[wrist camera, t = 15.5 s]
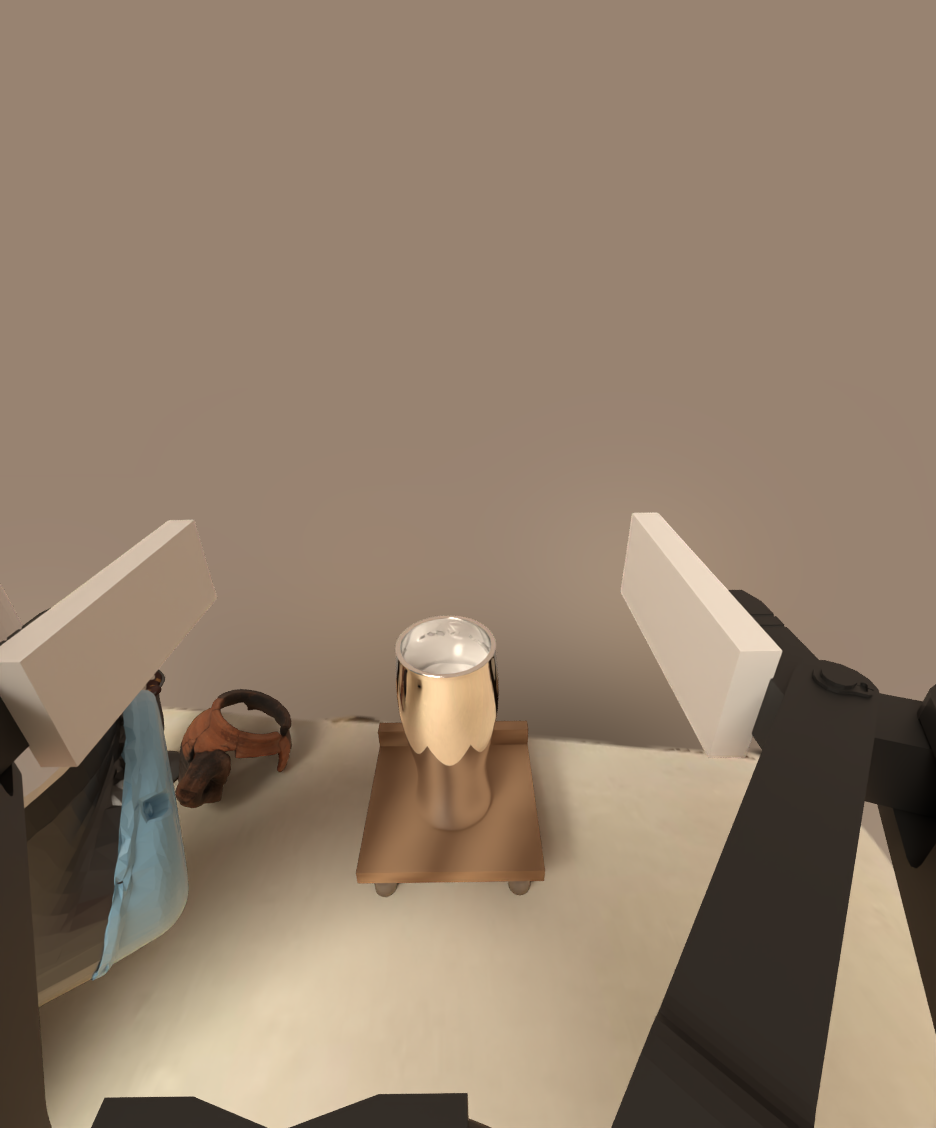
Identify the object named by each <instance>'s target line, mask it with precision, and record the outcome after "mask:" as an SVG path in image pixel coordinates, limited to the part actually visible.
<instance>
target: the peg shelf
mask: <svg viewBox="0 0 936 1128" xmlns="http://www.w3.org/2000/svg"><path fill="white" fill-rule="evenodd" d="M378 735H379V742H380V749H379V755H378V760H377V765H376V770H375V776H374V781H373V786H372V791H371V797H370V802H369V807H368V812H367V818H366V823H365V828H364V833H363V839H362V844H361V849H360V854H359V860H358V865H357V870H356V876H357V881H358V883H375V888H376V892H377V893H378V895H380V896H382V897H388V896H390V895H392V894H393V893H394V892H395V890H396V888H397V883H421V882H494V881H508V885H509V888H510V890H511V891H512V892H513V893H514V894H517V895H523V894H525V893H527V891H528V890H529V887H530V881H544V876H545V867H544V860H543V853H542V846H541V838H540V831H539V824H538V817H537V810H536V803H535V795H534V788H533V781H532V774H531V767H530V760H529V752H528V745H527V742H528V725H527V721H496V722H495V728H494V732H493V736H492V740H491V744H490V748H489V752H488V756H487V763H486V769H487V774H488V778H489V781H490V786H491V803H490V806H489V808H488V810H487V812H486V814H485V815H484V816H483V818H482V819H481V820H480V821H478V822H477V823H476V824H474V825H473V826H471V827H469V828H466V829H463V830H458V831H445V830H440V829H437V828H435V827H433V826H431V825H429V824H428V823H427V822H425V821H424V820H423V819H422V817H421V816H420V815H419V813H418V811H417V809H416V806H415V788H416V783H417V777H418V776H417V768H416V764H415V760H414V757H413V755H412V752H411V749H410V747H409V744H408V741H407V738H406V735H405V732H404V729H403V725H402V723H380V724H379V729H378Z"/></svg>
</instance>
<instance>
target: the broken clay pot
mask: <svg viewBox="0 0 936 1128" xmlns="http://www.w3.org/2000/svg"><path fill="white" fill-rule="evenodd" d="M241 702H244V703H245V704H246V705H247V707H248V710H253V709H256V710H260V711H263V712H264V713H266V714H267V715H269V716H271V717H274V718H275V720H276V722H277V723H278V724H279V725H280V726H281V728H280V734H281V735H280V734H279V733H278V732H277V731H275V732H271V733H267V734H253V733H249V732H244V731H240V730H238V729H237V728H235V727H233V726H232V725H230V724H229V723H228V722H227V721H226V720H225V719H224V718H223V716H222V714H221V711H220V709H222V708H224V707H226V706H230V705H234V704H237V703H241ZM290 727H291V718H290V714H289V712H288V711H287V709H286V708H285V707H284V706H282V704H281V703H280V702H278V700H276V699H274V698H272V697H271V696H269V695H266V694H264V693H261V692H257V691H252V690H243V689H240V690H232V691H228V692H225V693H223V694H221V695H220V696H219V697H218V698H217V699H216V700H215V701H214V702H213V704H212V708H209V709H207V710H205V711H203V712H202V713H201V714H200V715H198V716H197V717H196V718H195V719H194V720H193V721H192V723H191V724H190V726H189V727H188V729H187V731H186V733H185V735H184V737H183V740H182V743H181V749H180V757H179V777H178V782H179V784H178V785H177V788H176V798H177V800H178V801H179V802H180V804H181V805H182V806H185V807H190V808H196V807H199V806H201V805H203V804H204V803H214V802H218V801H220V800H221V795H222V790H223V785H224V784H225V783H226V780H227V777H228V776H229V774H230V771H231V766H230V765H231V760H230V757H229V755H228V754H226V753H225V752H226V751H235V757H236V758H248V757H251V758H253V757H259V756H268V755H274V754H277V753H278V755H279V762H278V767H277V770H278V771H279V772H281V771H282V770H283V769H284V768H285V766H286V765H287V761H288V758H289V753H290V749H291V747H292V744H291V737H290V732H289V728H290Z"/></svg>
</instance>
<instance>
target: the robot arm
mask: <svg viewBox="0 0 936 1128" xmlns="http://www.w3.org/2000/svg"><path fill="white" fill-rule="evenodd" d="M621 594H622V596H623V598H624V600H625V601H626V603H627V605H628V607H629V609H630V611H631V613H632V615H633V616H634V619H635V620H636V622H637V624H638V626H639V628H640V630H641V632H642V634H643V635H644V637H645V639H646V641H647V643H648V645H649V647H650V649H651V651H652V653H653V654H654V656H655V658H656V660H657V662H658V664H659V666H660V668H661V669H662V671H663V673H664V675H665V677H666V679H667V681H668V683H669V685H670V687H671V688H672V690H673V692H674V694H675V696H676V698H677V700H678V702H679V703H680V705H681V707H682V709H683V711H684V713H685V715H686V717H687V719H688V720H689V722H690V724H691V726H692V728H693V730H694V732H695V734H696V736H697V737H698V739H699V741H700V743H701V745H702V747H703V749H704V751H705V753H706V754H707V756H708V758H731V757H745V756H746V754H747V751H748V748H749V745H750V742H751V739H752V737H753V736H754V738H755V740H756V741H757V743H758V744H759V746H760V747H761V749H762V753H761V755H760V758H759V760H758V763H757V765H756V768H755V770H754V773H753V775H752V778H751V780H750V783H749V785H748V788H747V790H746V793H745V795H744V798H743V800H742V803H741V805H740V808H739V811H738V813H737V816H736V818H735V821H734V823H733V826H732V828H731V831H730V833H729V836H728V838H727V841H726V843H725V846H724V848H723V851H722V853H721V856H720V858H719V861H718V863H717V866H716V868H715V871H714V874H713V876H712V879H711V881H710V884H709V886H708V889H707V891H706V894H705V896H704V899H703V901H702V904H701V906H700V909H699V911H698V914H697V916H696V919H695V921H694V924H693V926H692V929H691V931H690V934H689V936H688V939H687V942H686V944H685V947H684V949H683V952H682V954H681V957H680V959H679V962H678V964H677V967H676V969H675V972H674V974H673V977H672V979H671V982H670V984H669V987H668V989H667V992H666V994H665V997H664V999H663V1002H662V1004H661V1007H660V1009H659V1012H658V1014H657V1016H656V1018H655V1020H654V1022H653V1025H652V1027H651V1030H650V1032H649V1035H648V1037H647V1040H646V1042H645V1045H644V1047H643V1049H642V1052H641V1054H640V1057H639V1059H638V1062H637V1065H636V1067H635V1070H634V1072H633V1075H632V1077H631V1080H630V1082H629V1085H628V1087H627V1090H626V1092H625V1095H624V1097H623V1100H622V1102H621V1105H620V1107H619V1110H618V1112H617V1115H616V1117H615V1120H614V1122H613V1125H612V1127H611V1128H814V1123H815V1113H816V1106H817V1100H818V1093H819V1087H820V1081H821V1074H822V1068H823V1062H824V1055H825V1049H826V1043H827V1036H828V1030H829V1023H830V1017H831V1011H832V1004H833V998H834V992H835V985H836V979H837V973H838V966H839V960H840V954H841V947H842V941H843V934H844V928H845V922H846V915H847V909H848V903H849V896H850V890H851V884H852V877H853V871H854V865H855V858H856V852H857V846H858V839H859V833H860V826H861V820H862V813H863V807H864V801H866V802H871V803H874V804H877V805H878V809H879V813H880V817H881V820H882V824H883V828H884V832H885V836H886V840H887V844H888V848H889V852H890V856H891V860H892V864H893V868H894V872H895V876H896V880H897V883H898V887H899V891H900V895H901V899H902V903H903V907H904V911H905V915H906V919H907V923H908V927H909V931H910V935H911V938H912V942H913V946H914V950H915V954H916V958H917V962H918V966H919V970H920V974H921V978H922V982H923V986H924V990H925V993H926V997H927V1001H928V1005H929V1009H930V1013H931V1017H932V1021H933V1025H934V1029H935V1033H936V685H934V686H933V687H932V688H930V690H929V692H928V693H927V695H926V697H925V699H924V701H923V702H922V701H917V700H912V699H906V698H901V697H896V696H891V695H885V694H881V693H879V690H878V689H877V687H876V686H875V685H874V684H873V683H872V682H871V681H870V680H869V679H868V678H866V677H865V676H863V675H862V674H860V673H859V672H857V671H855V670H853V669H850V668H848V667H846V666H844V665H841V664H837V663H834V662H829V661H826V660H818V659H817V658H816V657H815V656H814V654H812V653H811V651H810V650H809V649H808V648H807V647H806V646H805V645H804V644H803V643H802V642H801V641H800V640H799V639H798V638H797V637H796V636H795V635H794V634H793V633H792V632H791V631H790V630H789V629H788V628H787V627H784V624H783V623H782V622H781V621H780V620H779V619H778V618H777V617H776V616H775V617H774V614H773V613H772V612H771V611H770V610H769V609H768V608H767V606H766V605H765V604H764V603H762V601H760V600H758V599H757V598H755V597H753V596H752V595H750V594H748V593H746V592H745V591H743V590H727V589H726V588H725V586H723V584H722V583H721V582H720V581H719V580H718V579H717V578H716V576H715V575H714V574H713V573H712V572H711V571H710V570H709V569H708V568H707V567H706V565H705V564H704V563H703V562H702V561H701V560H700V559H699V558H698V557H697V555H696V554H695V553H694V552H693V551H692V550H691V549H690V548H689V547H688V545H687V544H686V543H685V542H684V541H683V540H682V539H681V538H680V537H679V535H678V534H677V533H676V532H675V531H674V530H673V529H672V528H671V527H670V525H669V524H668V523H667V522H666V521H665V520H664V519H663V518H662V517H661V515H660V514H659V513H632V518H631V525H630V532H629V538H628V545H627V552H626V558H625V565H624V571H623V578H622V585H621ZM216 599H217V595H216V592H215V588H214V585H213V581H212V578H211V575H210V571H209V568H208V565H207V561H206V558H205V554H204V551H203V548H202V544H201V541H200V537H199V534H198V531H197V527H196V524H195V521H194V520H168V521H167V522H166V523H164V524H163V525H162V526H160V527H159V528H158V529H156V530H155V531H154V532H152V533H151V534H150V535H148V536H147V537H146V538H144V539H143V540H142V541H140V542H139V543H138V544H136V545H135V546H134V547H132V548H131V549H130V550H128V551H127V552H126V553H124V554H123V555H122V556H120V557H119V558H118V559H116V560H115V561H114V562H112V563H111V564H110V565H108V566H107V567H106V568H104V569H103V570H102V571H100V572H99V573H97V574H96V575H95V576H93V577H92V578H91V579H89V580H88V581H87V582H85V583H84V584H83V585H81V586H80V587H79V588H77V589H76V590H75V591H73V592H72V593H71V594H69V595H68V596H67V597H65V598H64V599H63V600H61V601H60V602H59V603H57V604H56V605H55V606H53V607H52V608H50V609H48V610H46V611H43V612H42V613H39V614H38V615H37V616H35V617H34V618H33V619H31V620H30V621H29V622H27V623H26V624H25V625H23V624H22V623H21V621H20V619H19V617H18V615H17V613H16V611H15V610H14V608H13V606H12V604H11V603H10V600H9V599H8V597H7V595H6V593H5V591H4V589H3V587H2V585H1V584H0V1128H52V1127H51V1124H50V1121H49V1117H48V1114H47V1108H46V1101H45V1089H44V1075H43V1061H42V1047H41V1034H40V1020H39V1007H40V1006H42V1005H44V1004H46V1003H48V1002H50V1001H51V1000H53V999H55V998H57V997H59V996H61V995H63V994H64V993H66V992H68V991H70V990H72V989H74V988H76V987H78V986H79V985H81V984H83V983H85V982H87V981H89V980H95V979H97V978H99V977H101V976H103V975H105V974H106V973H107V972H108V971H109V969H110V968H111V966H112V965H113V964H115V963H116V962H118V961H120V960H121V959H123V958H125V957H126V956H128V955H130V954H131V953H133V952H135V951H136V950H138V949H140V948H141V947H143V946H145V945H146V944H148V943H150V942H151V941H153V940H155V939H156V938H158V937H159V936H161V935H162V934H164V933H165V932H166V931H168V930H169V929H170V928H171V927H172V926H173V925H174V924H175V922H176V921H177V920H178V918H179V917H180V915H181V913H182V912H183V910H184V907H185V905H186V902H187V898H188V892H189V884H188V874H187V866H186V859H185V852H184V845H183V839H182V833H181V826H180V820H179V814H178V808H177V802H176V797H175V791H174V785H173V779H172V774H171V769H170V763H169V758H168V752H167V747H166V741H165V736H164V731H163V726H162V721H161V716H160V711H159V707H158V704H157V701H156V697H155V696H154V694H153V693H152V692H150V691H148V690H142V688H143V687H144V686H145V685H146V684H147V682H148V681H149V680H150V679H151V678H152V676H153V675H154V674H155V673H156V671H157V670H158V669H159V668H160V667H161V665H162V664H163V663H164V662H165V660H166V659H167V658H168V657H169V656H170V655H171V653H172V652H173V651H174V650H175V649H176V647H177V646H178V645H179V644H180V643H181V641H182V640H183V639H184V638H185V637H186V635H187V634H188V633H189V632H190V630H191V629H192V628H193V627H194V626H195V624H196V623H197V622H198V621H199V619H200V618H201V617H202V616H203V615H204V614H205V612H206V611H207V610H208V609H209V607H210V606H211V605H212V604H213V603H214V601H215V600H216ZM91 1128H267V1127H264V1126H262V1125H260V1124H257V1123H255V1122H253V1121H250V1120H248V1119H245V1118H243V1117H241V1116H238V1115H236V1114H234V1113H231V1112H229V1111H226V1110H224V1109H222V1108H219V1107H217V1106H215V1105H212V1104H210V1103H207V1102H205V1101H203V1100H200V1099H198V1098H196V1097H120V1098H104V1100H103V1102H102V1105H101V1107H100V1109H99V1111H98V1114H97V1116H96V1118H95V1120H94V1122H93V1125H92V1127H91ZM290 1128H491V1127H489V1126H486V1125H484V1124H481V1123H479V1122H476V1121H474V1120H471V1119H469V1120H468V1094H467V1093H441V1094H378V1095H375V1096H373V1097H370V1098H367V1099H365V1100H362V1101H359V1102H357V1103H354V1104H351V1105H349V1106H346V1107H343V1108H341V1109H338V1110H335V1111H333V1112H330V1113H327V1114H325V1115H322V1116H319V1117H317V1118H314V1119H311V1120H309V1121H306V1122H303V1123H301V1124H298V1125H295V1126H293V1127H290Z"/></svg>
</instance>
